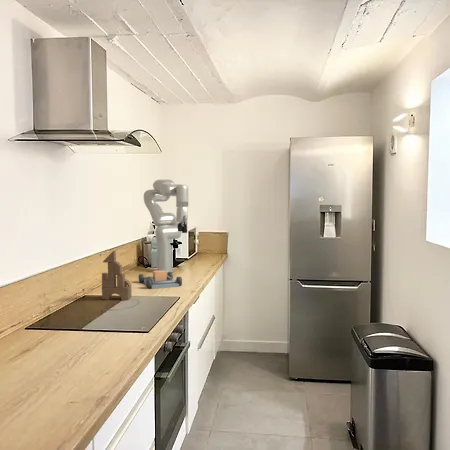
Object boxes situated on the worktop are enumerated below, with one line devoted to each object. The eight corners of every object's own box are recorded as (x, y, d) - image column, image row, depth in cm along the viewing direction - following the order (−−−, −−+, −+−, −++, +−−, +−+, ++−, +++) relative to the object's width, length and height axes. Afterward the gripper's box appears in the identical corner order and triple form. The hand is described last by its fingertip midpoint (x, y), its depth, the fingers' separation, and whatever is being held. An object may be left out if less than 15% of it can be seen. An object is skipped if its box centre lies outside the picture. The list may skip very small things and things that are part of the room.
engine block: (152, 281, 279) (152, 271, 279) (164, 280, 282) (164, 270, 282) (155, 282, 275) (155, 272, 274) (166, 281, 278) (166, 271, 277)
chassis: (138, 281, 285) (138, 273, 285) (170, 279, 293) (170, 271, 293) (148, 289, 263) (148, 280, 263) (182, 286, 271) (182, 277, 271)
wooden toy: (132, 297, 244) (131, 249, 242) (128, 300, 237) (127, 251, 235) (103, 296, 246) (102, 249, 244) (98, 299, 239) (97, 250, 237)
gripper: (172, 204, 299) (172, 230, 300) (180, 205, 283) (180, 233, 284) (184, 204, 302) (184, 230, 303) (192, 205, 286) (192, 233, 287)
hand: (182, 232), depth 294 cm, fingers open, 9 cm apart
